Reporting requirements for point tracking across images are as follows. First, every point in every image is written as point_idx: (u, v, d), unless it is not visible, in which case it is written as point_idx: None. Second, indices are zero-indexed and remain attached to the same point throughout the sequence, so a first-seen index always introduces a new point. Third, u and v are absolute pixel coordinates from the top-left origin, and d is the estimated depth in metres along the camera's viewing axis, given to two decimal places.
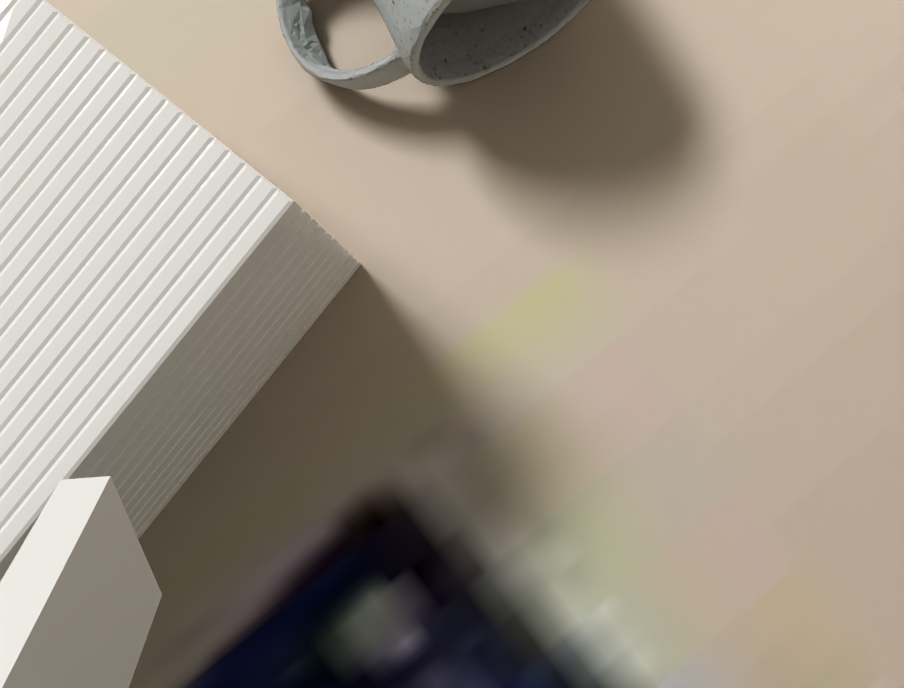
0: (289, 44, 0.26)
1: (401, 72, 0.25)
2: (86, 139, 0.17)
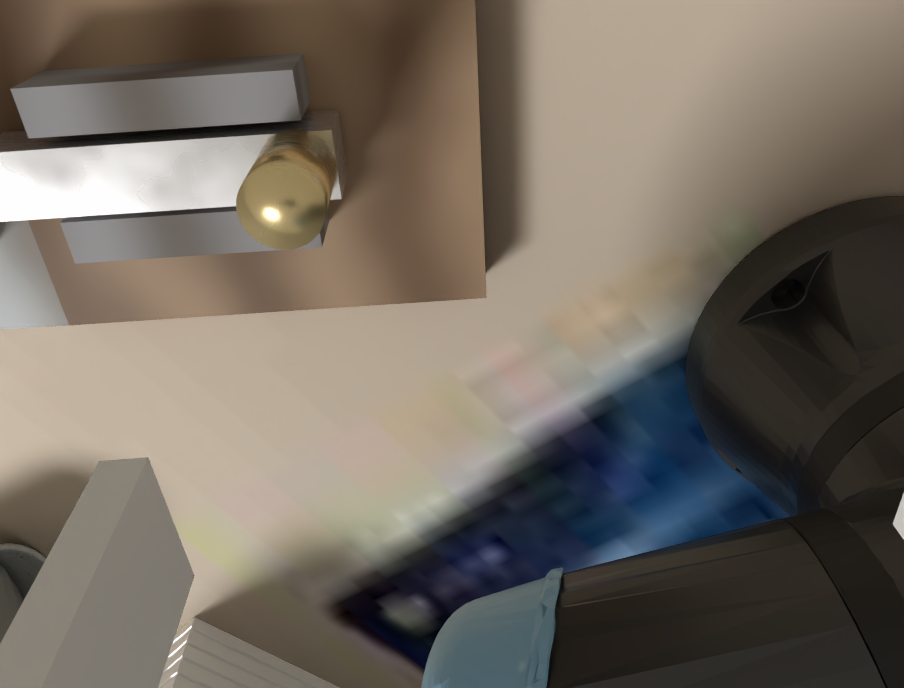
0: None
1: None
2: None
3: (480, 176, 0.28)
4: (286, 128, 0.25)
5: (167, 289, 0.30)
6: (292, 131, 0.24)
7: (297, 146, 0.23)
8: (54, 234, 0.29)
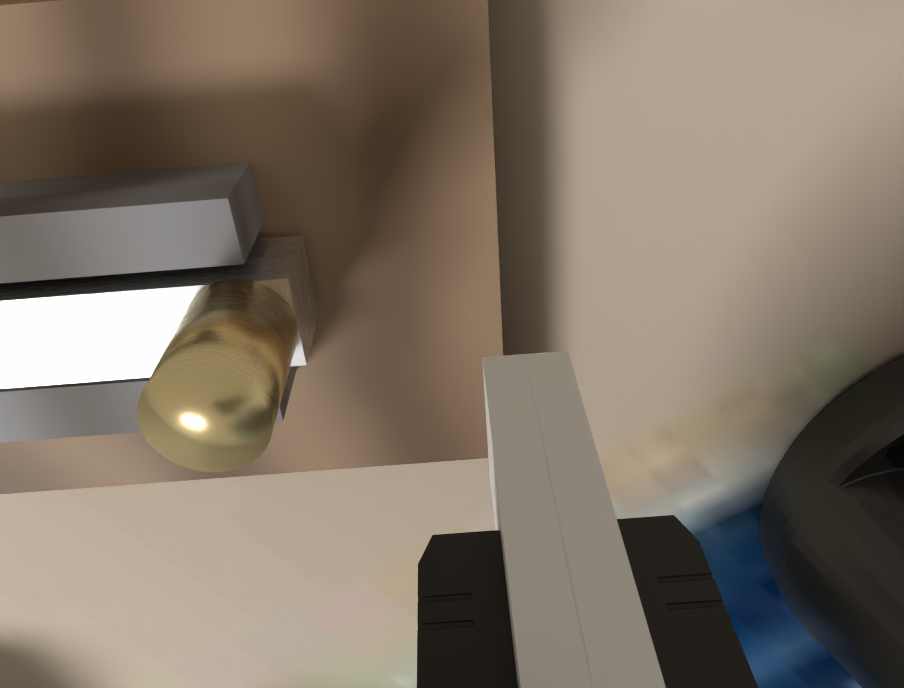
0: None
1: None
2: None
3: (499, 312, 0.21)
4: (224, 273, 0.17)
5: (87, 454, 0.23)
6: (230, 283, 0.17)
7: (234, 315, 0.16)
8: None
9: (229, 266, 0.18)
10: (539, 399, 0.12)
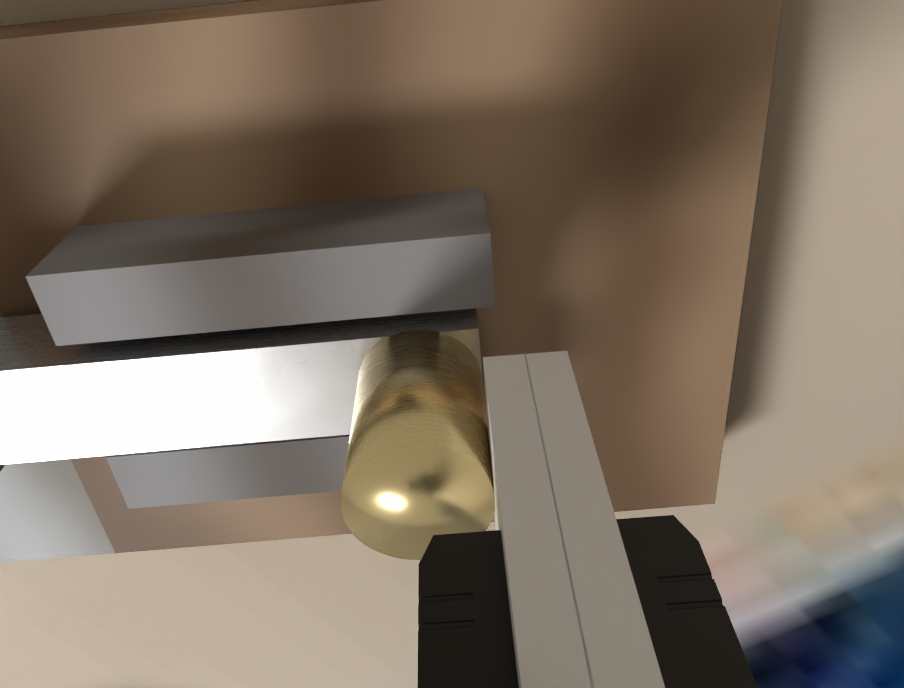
0: None
1: None
2: None
3: (733, 349, 0.19)
4: (401, 323, 0.15)
5: (256, 506, 0.21)
6: (416, 335, 0.15)
7: (434, 376, 0.14)
8: None
9: None
10: (539, 399, 0.12)
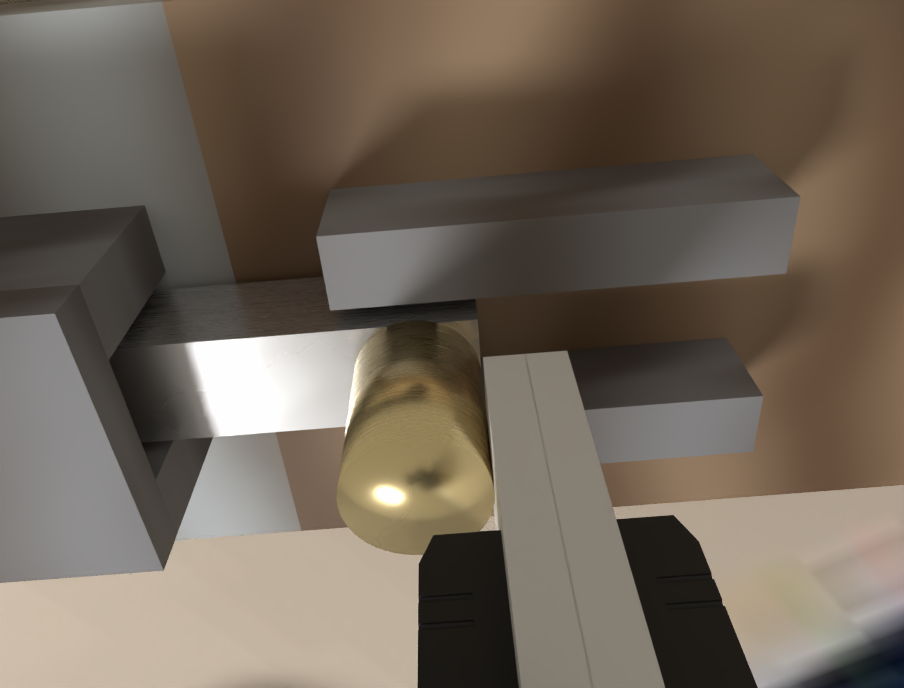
0: None
1: None
2: None
3: None
4: (399, 313, 0.15)
5: None
6: (414, 325, 0.14)
7: (434, 368, 0.13)
8: None
9: None
10: (539, 399, 0.12)
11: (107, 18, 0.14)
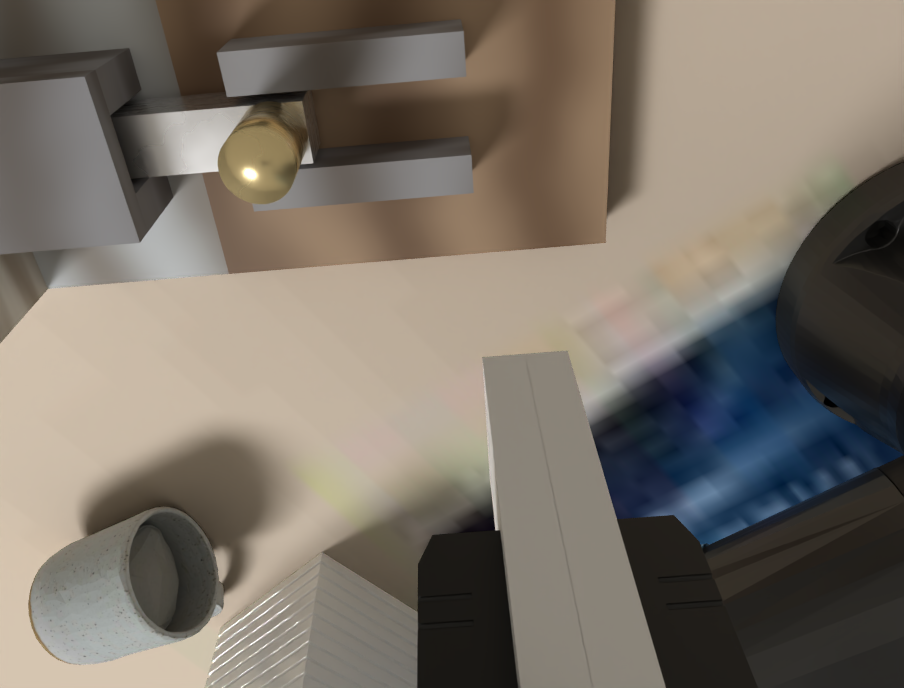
0: None
1: None
2: None
3: (609, 129, 0.32)
4: (262, 101, 0.28)
5: (320, 239, 0.34)
6: (267, 103, 0.28)
7: (271, 114, 0.26)
8: (224, 189, 0.32)
9: (265, 98, 0.29)
10: (539, 399, 0.12)
11: None
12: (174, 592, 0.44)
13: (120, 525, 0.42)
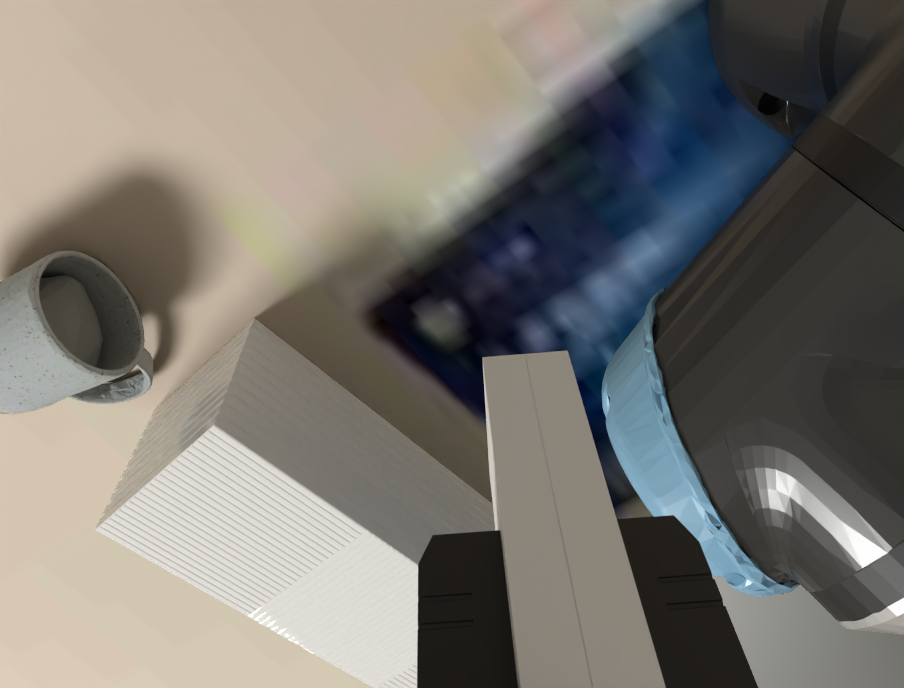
0: (134, 397, 0.48)
1: None
2: (189, 490, 0.40)
3: None
4: None
5: None
6: None
7: None
8: None
9: None
10: (539, 399, 0.12)
11: None
12: (95, 344, 0.43)
13: None
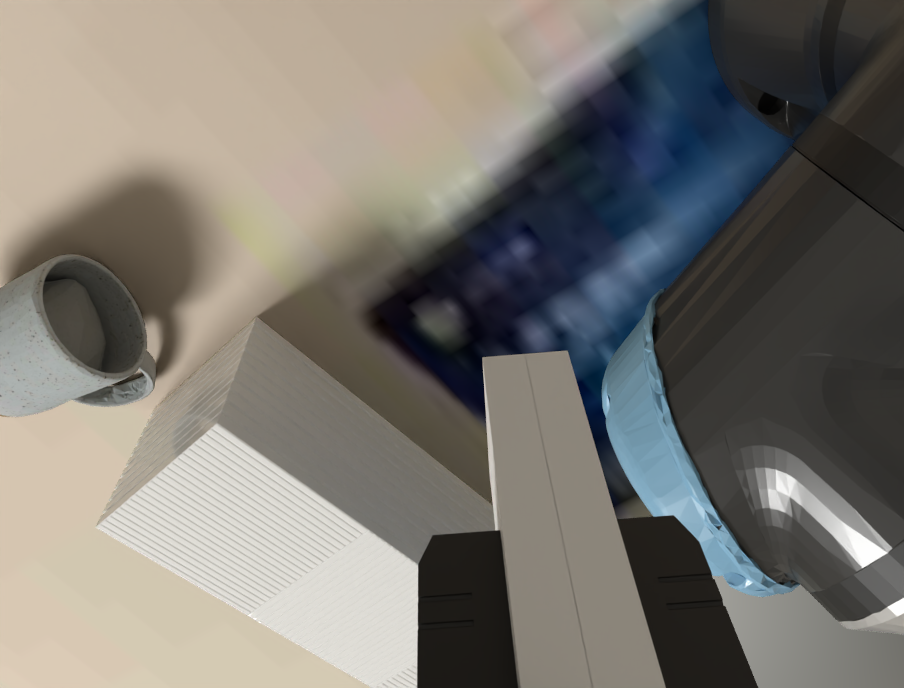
0: (137, 400, 0.48)
1: None
2: (191, 489, 0.40)
3: None
4: None
5: None
6: None
7: None
8: None
9: None
10: (539, 399, 0.12)
11: None
12: (98, 347, 0.43)
13: None
